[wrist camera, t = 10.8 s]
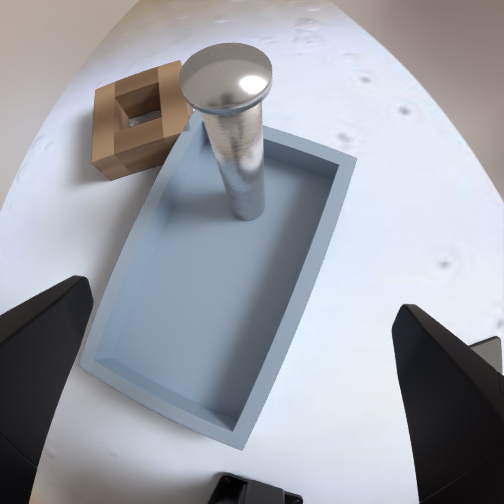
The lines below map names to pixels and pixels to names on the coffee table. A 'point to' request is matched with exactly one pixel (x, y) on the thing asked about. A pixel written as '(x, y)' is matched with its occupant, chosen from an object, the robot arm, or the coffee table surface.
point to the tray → (216, 283)
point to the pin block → (143, 135)
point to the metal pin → (232, 117)
